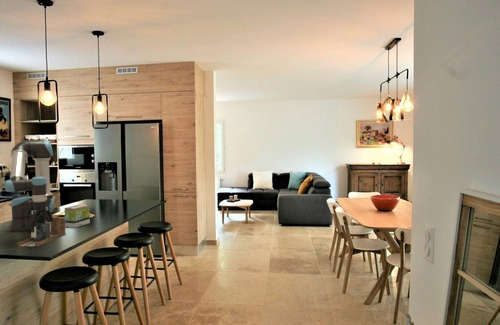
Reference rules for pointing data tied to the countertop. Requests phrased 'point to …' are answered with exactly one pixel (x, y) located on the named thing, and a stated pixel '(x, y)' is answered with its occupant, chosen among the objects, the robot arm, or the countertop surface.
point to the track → (56, 232)
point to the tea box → (77, 216)
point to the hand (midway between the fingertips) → (41, 234)
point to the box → (42, 231)
